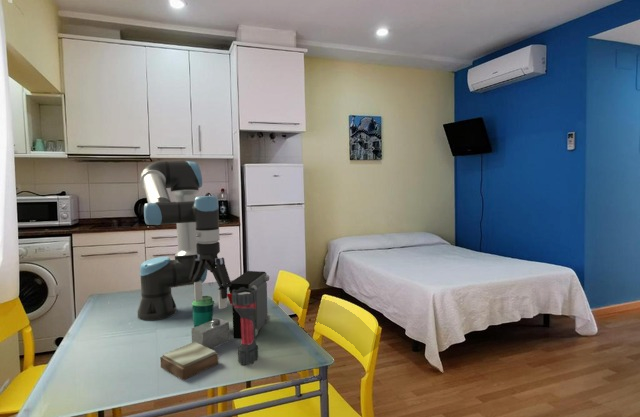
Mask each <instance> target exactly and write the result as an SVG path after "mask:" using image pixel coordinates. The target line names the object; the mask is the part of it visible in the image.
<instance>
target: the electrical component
mask: <svg viewBox="0 0 640 417" xmlns="http://www.w3.org/2000/svg"><path fill="white" fill-rule="evenodd" d="M269 280H270V275H268V274H267V272H265V271H260V270H259V271H256V270H255V271H254V270H253V271H252V270H247V271H245V272H244V273H242V274H240V275H239V276H238V277H237V278H235V279H233V280H232V281H231V285H232V286H231V287H228V291H229V293H227V299H228V302H229V304H230V305H231V306H232V307H231V308H232V335H233V337H232V338H233V339H237V340H242V338H241V317H240V315H239V313H238V312H237V311H236V310H235V308H234V306H233V304H232V291H233V290H234V289H235V290H239V289H240V288H241V287H245V289H246V288H247V289H250V288H251V287H252V288H254V289H255V291H256V295H257V301H256V308H255V314H254V316H255V337H256V336H258V332H259V331H260V330H261V329H262V327H263V326H265V324H266V323H267V322H270V320H271V315H269V314H268V284H267V283H268V282H270V281H269Z"/></svg>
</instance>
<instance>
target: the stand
mask: <svg viewBox="0 0 640 417" xmlns="http://www.w3.org/2000/svg"><path fill="white" fill-rule="evenodd" d="M218 364H219V353H218V352H216V350H214V349H210V348H207V347H205V346H203V345H201V344H198V343H196V342H193V343H192V342H190V343H188V344H186V345H183V346H181V347H179V348H175V349H173V350H171V351H168V352H165V353H163V354H162V356H160V368H161V369H163V370H165V371H167V372H168V373H169V374H172V375H174V376H175V377H177V378H179V379H180V380H182V381H184V380H186V379H189V378H191V377H193V376H195V375H197V374H199V373H201V372H203V371H205V370H208V369H210V368H212V367H214V366H216V365H218Z"/></svg>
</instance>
